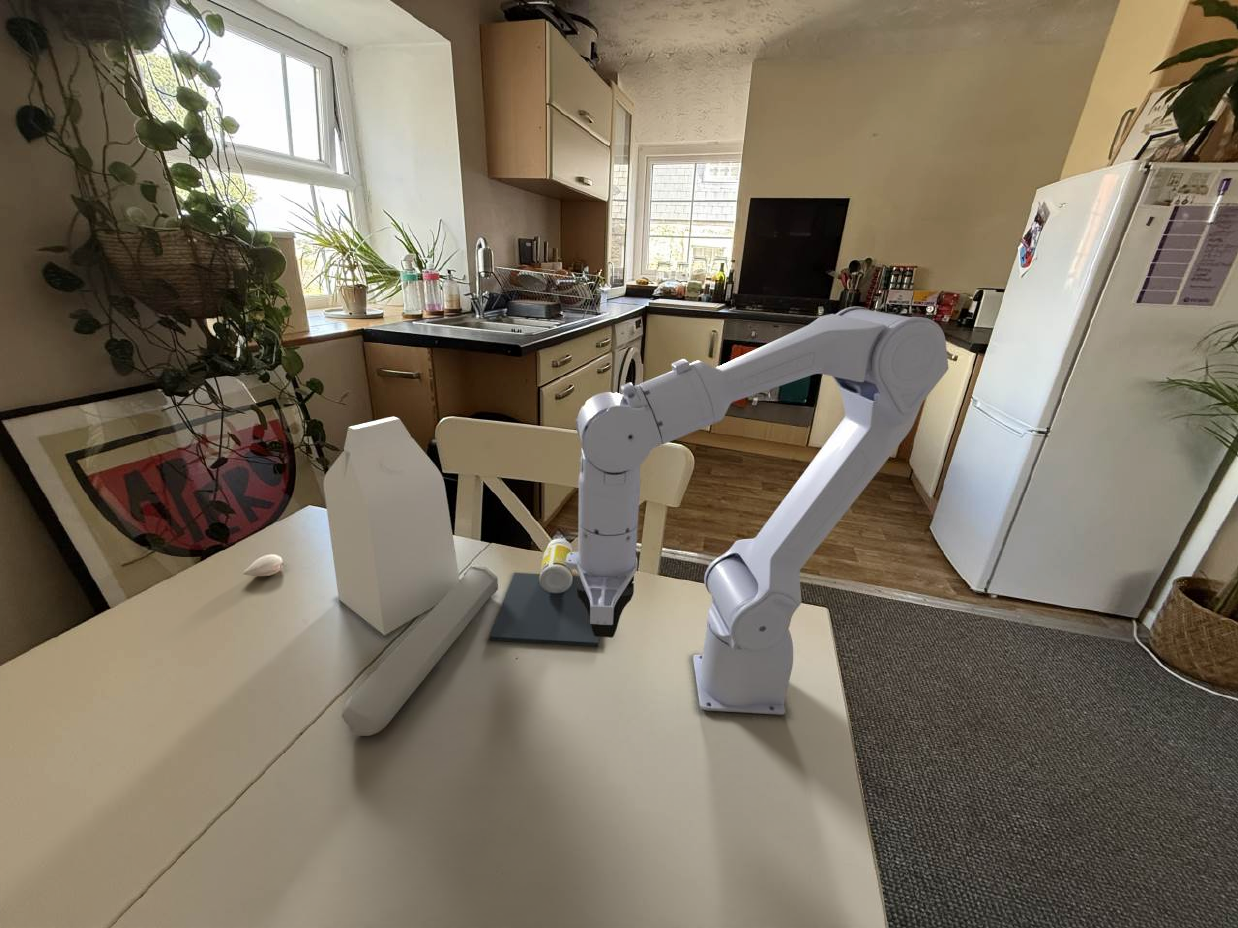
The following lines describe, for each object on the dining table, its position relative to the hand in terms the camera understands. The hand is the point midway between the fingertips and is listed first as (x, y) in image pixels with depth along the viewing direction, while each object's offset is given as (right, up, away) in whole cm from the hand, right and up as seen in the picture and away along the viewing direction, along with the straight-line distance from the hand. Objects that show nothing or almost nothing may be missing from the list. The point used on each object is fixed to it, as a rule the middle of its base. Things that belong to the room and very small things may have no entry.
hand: (604, 632), depth 53 cm
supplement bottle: (-8, +1, +18) cm, 20 cm away
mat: (-8, -2, +17) cm, 19 cm away
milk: (-30, -1, +19) cm, 35 cm away
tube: (-21, -6, +8) cm, 24 cm away
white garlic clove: (-52, +1, +22) cm, 56 cm away
